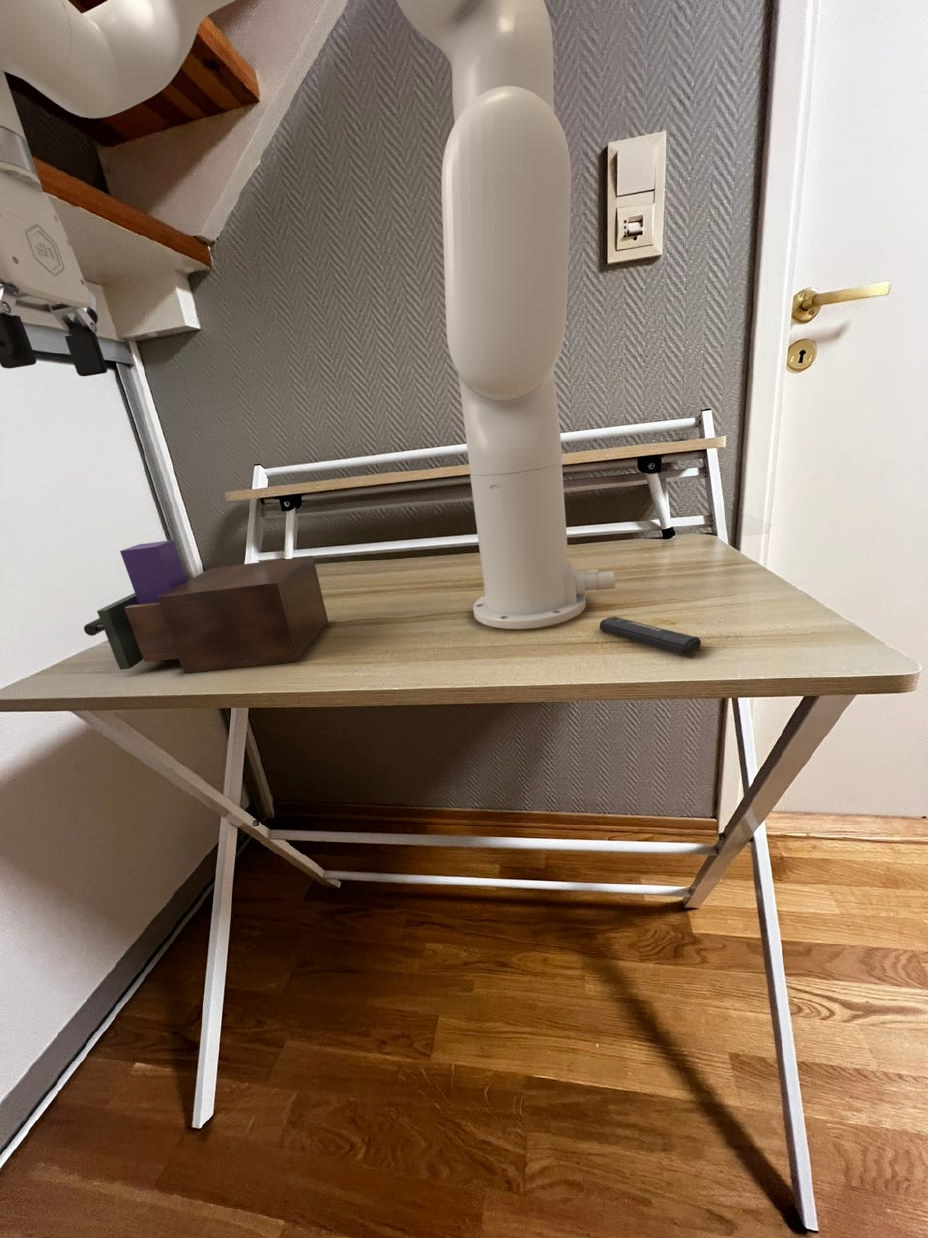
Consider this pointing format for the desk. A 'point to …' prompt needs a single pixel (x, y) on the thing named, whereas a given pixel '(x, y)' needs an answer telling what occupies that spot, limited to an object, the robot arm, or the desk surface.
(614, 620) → the usb stick
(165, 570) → the purple rectangular block
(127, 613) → the drawer
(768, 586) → the desk surface
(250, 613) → the cabinet
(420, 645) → the desk surface
